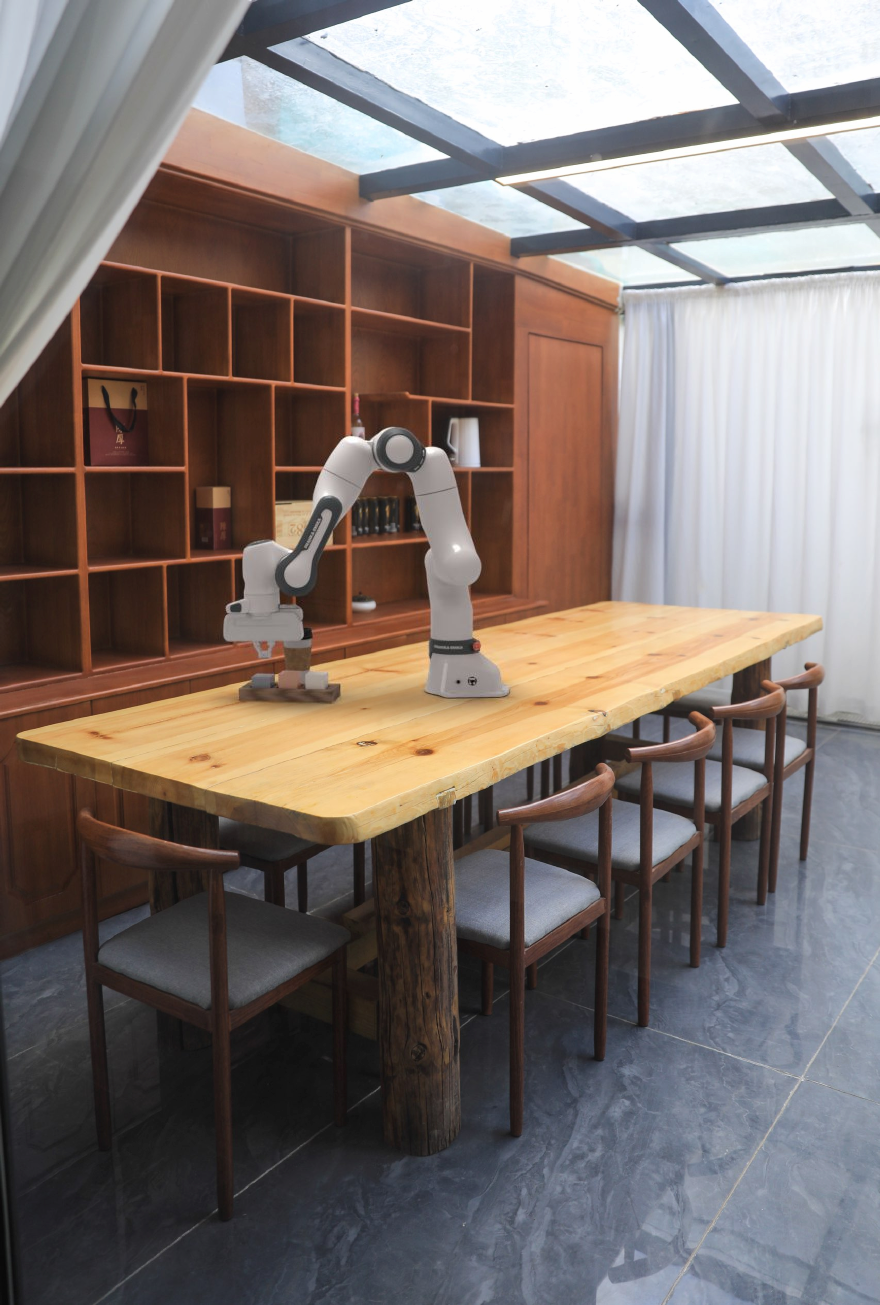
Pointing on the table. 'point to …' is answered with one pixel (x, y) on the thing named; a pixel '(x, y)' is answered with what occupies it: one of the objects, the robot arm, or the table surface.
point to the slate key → (263, 681)
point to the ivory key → (316, 680)
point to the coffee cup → (299, 654)
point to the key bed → (290, 694)
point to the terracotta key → (290, 679)
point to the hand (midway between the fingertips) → (265, 658)
